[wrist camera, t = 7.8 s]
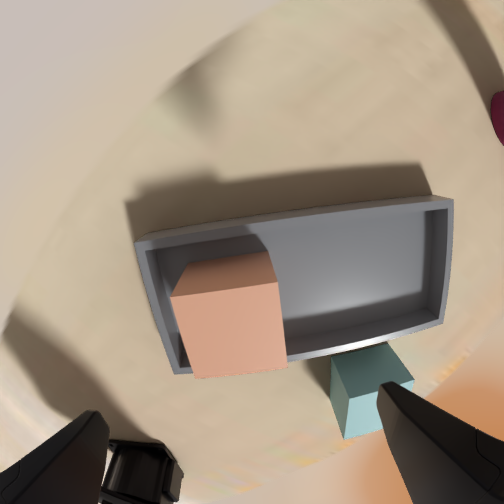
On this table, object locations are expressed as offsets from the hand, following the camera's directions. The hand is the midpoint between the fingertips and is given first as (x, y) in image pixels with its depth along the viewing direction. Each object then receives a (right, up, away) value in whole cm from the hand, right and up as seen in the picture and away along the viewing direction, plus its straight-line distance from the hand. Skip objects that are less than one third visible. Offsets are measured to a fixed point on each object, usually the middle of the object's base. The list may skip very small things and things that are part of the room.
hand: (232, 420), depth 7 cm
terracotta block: (0, +3, +9) cm, 10 cm away
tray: (+4, +3, +10) cm, 11 cm away
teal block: (+9, -4, +12) cm, 15 cm away
